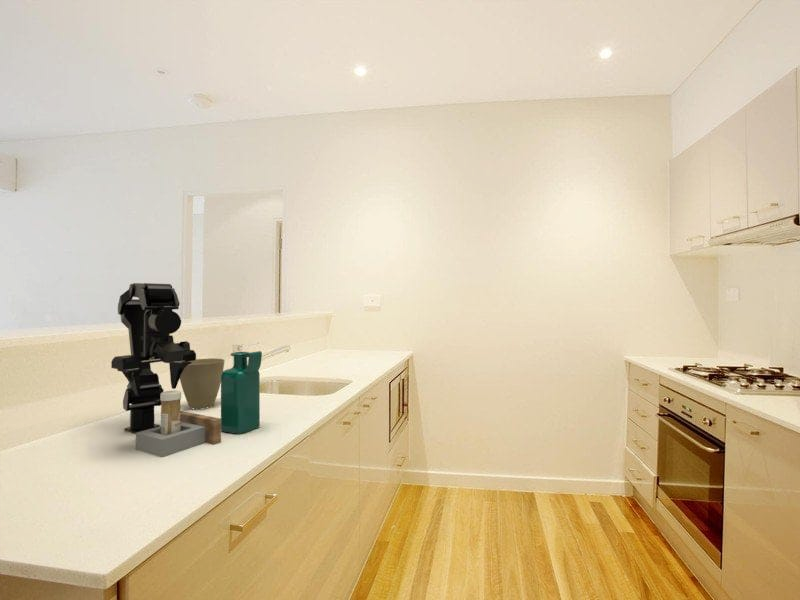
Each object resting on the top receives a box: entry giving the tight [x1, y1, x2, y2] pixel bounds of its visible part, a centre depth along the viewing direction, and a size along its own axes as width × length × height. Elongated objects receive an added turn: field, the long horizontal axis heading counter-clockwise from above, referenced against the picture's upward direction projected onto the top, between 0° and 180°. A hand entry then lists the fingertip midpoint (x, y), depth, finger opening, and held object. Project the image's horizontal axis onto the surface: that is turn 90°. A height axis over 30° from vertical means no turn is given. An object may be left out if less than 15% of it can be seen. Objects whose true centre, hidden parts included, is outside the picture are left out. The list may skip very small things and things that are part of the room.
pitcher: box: [220, 350, 263, 435], centre depth 113 cm, size 10×8×22 cm
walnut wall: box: [180, 410, 222, 445], centre depth 105 cm, size 18×2×6 cm, turn 62°
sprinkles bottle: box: [160, 389, 182, 435], centre depth 100 cm, size 5×5×14 cm
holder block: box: [135, 422, 206, 458], centre depth 99 cm, size 11×11×4 cm
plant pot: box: [179, 357, 225, 410], centre depth 138 cm, size 15×15×16 cm
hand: (156, 392), depth 103 cm, fingers open, 9 cm apart
